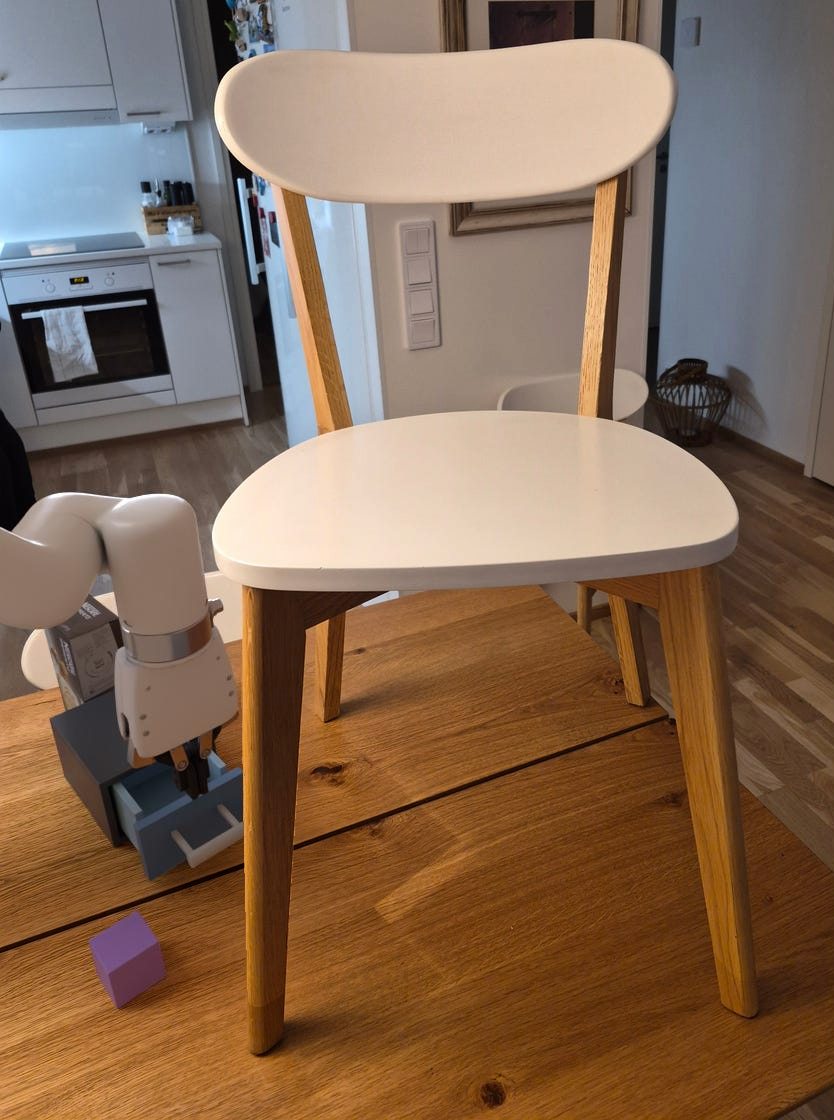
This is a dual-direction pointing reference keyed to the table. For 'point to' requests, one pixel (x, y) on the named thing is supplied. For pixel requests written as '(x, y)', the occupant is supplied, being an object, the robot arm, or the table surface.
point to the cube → (127, 958)
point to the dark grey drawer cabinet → (95, 757)
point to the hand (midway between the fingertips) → (193, 788)
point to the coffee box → (85, 652)
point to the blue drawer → (178, 815)
